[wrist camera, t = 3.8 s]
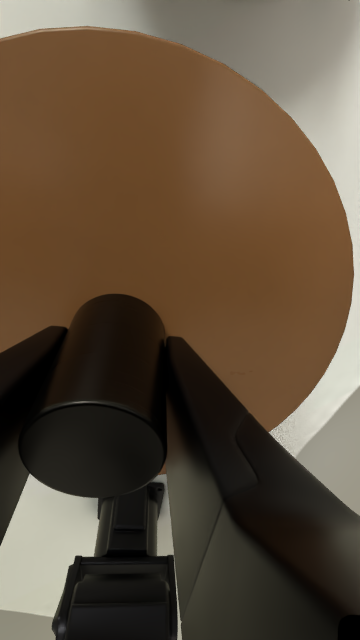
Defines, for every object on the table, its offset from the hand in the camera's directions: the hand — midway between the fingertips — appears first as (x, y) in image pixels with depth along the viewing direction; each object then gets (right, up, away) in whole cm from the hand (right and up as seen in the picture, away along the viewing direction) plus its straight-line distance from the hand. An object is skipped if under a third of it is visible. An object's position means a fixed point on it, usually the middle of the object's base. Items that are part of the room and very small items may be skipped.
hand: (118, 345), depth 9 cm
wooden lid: (0, 0, +1) cm, 1 cm away
